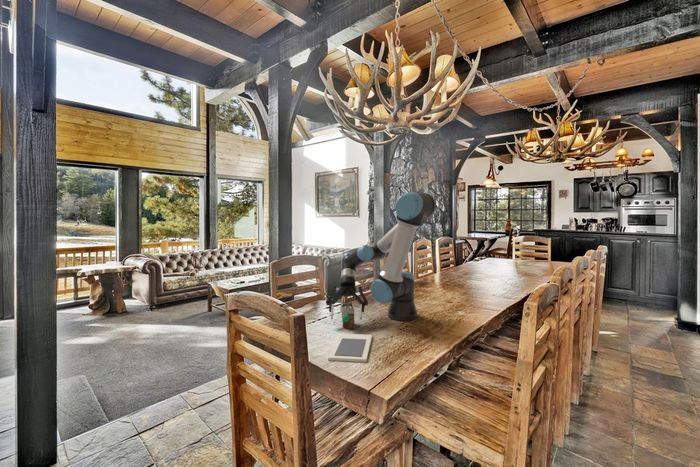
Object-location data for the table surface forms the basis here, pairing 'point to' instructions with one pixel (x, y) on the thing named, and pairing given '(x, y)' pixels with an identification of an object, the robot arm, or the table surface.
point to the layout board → (351, 348)
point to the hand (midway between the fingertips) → (346, 318)
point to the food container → (347, 315)
